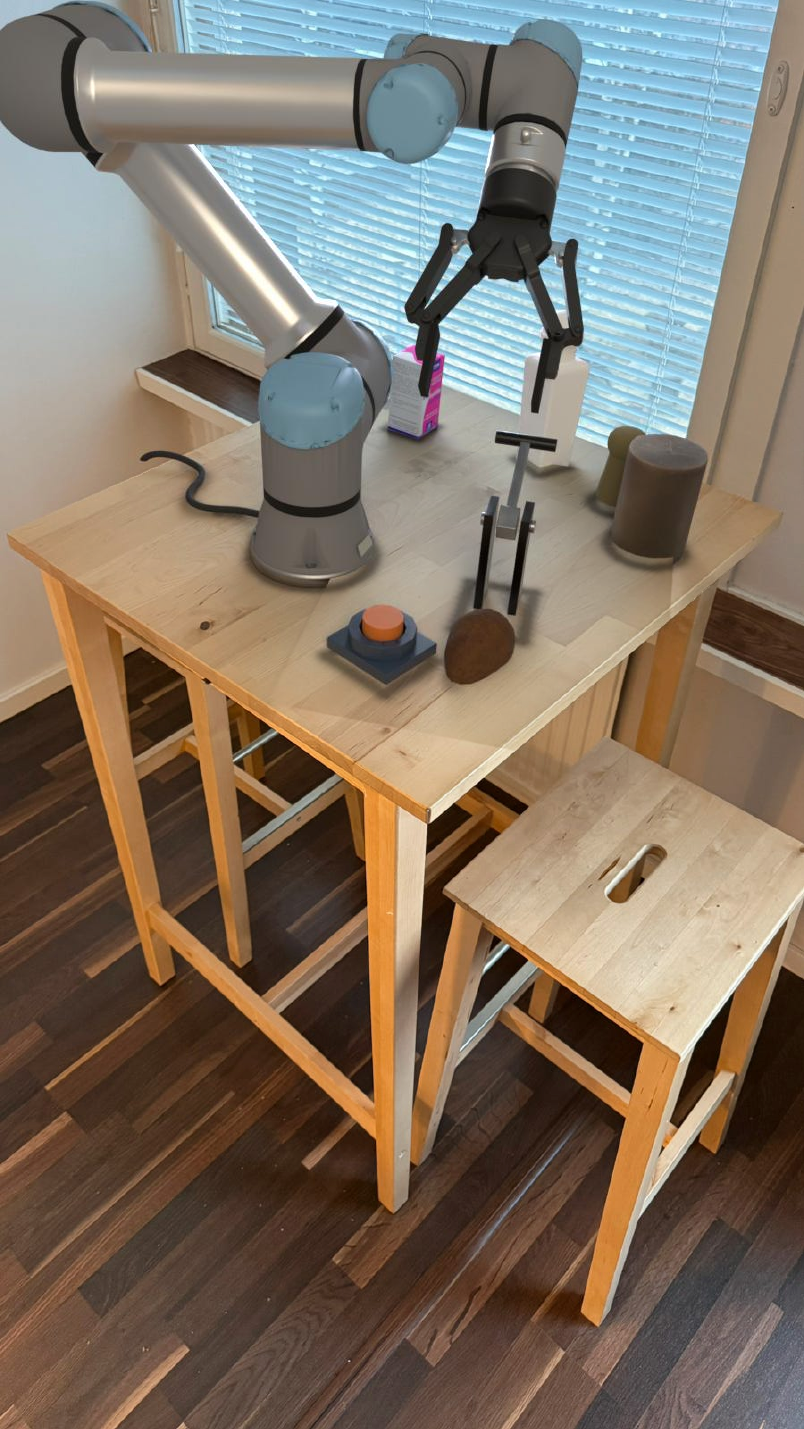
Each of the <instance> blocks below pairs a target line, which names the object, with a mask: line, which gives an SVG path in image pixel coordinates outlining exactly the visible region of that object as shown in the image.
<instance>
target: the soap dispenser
mask: <svg viewBox="0 0 804 1429" xmlns="http://www.w3.org/2000/svg"><path fill="white" fill-rule="evenodd" d="M555 311H556V313H557V316H558V318H559V320H560V323H561V325H562V328H564V329H566V328H569V327H568V320H567V312H566V309H559V310H555ZM538 335H539V336H538V337H539V339H540V340H541V344H542V343H543V338H548V336H547V334H546V331H545V329H544V327H543V326H541V328H540V329H539V334H538ZM584 341H585V333H584V334H583V342H582V344H583V343H584ZM579 347H580V346H573V345H571V346H567V347H565V348H564V349H563V351H562V354H561V359H560V365H559V370H558V375H557V377H556V378H555V380H552V379H545V382H544V388H543V393H542V398H541V403H540V408H539V413H538V414H537V413H531V400H532V395H533V390H534V384H535V379H536V374H537V369H538V364H539V359H540V354H541V351H540V352H536V353H535V352H534V353H531V354H528V355H527V356H526V357H525V359H524V367H523V379H522V388H521V400H520V411H519V412H520V414H519V424H518V432H517V433H518V434H525V435H532V436H538V437H545V438H552V439H557V447H556V451H555V452H550V451H543V450H537V449H529V454H528V458H527V462H531V463H532V464H534V465H535V466H536V467H538V468H544V467H548V466H552V465H554V466H562V467H569V465H570V462H571V458H572V457H571V456H572V452H573V447H574V443H575V439H576V434H577V429H578V425H579V421H580V416H581V411H582V407H583V404H584V403H583V402H584V398H585V394H586V390H587V386H588V380H589V375H590V372H591V366H590V364H589V363H588V362H587V361H585V360H583V359H582V358H580V357H579V356H578V355H577V354H576V353H577V351H578V349H579ZM576 355H577V356H576ZM518 451H519V447H517V446H516V459H515V460H517V456H518Z"/></svg>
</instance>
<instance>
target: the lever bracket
mask: <svg viewBox="0 0 804 1429" xmlns="http://www.w3.org/2000/svg"><path fill="white" fill-rule="evenodd" d="M499 503H500V496H497V495H490V496H489V499H488V502H487V505H486V508H485V511H482V512H481V516H480V521H479V524H480V526H482V531H481V539H480V540H481V541H480V546H479V547H480V548H479V556H478V565H477V572H476V582H475V590H474V598H473V607H472V608H473V609H474V610H476V609H483V606H484V603H485V600H486V597H487V593H488V590H489V582H490V575H491V567H492V559H493V550H494V543H495V537H496V525H497V520H498V513H499V505H500V504H499ZM535 507H536V502H535V501H529V500H526V501H525V504H524V508H523V511H522V515H521V517H520V522H519V531H518V536H517V544H516V552H515V557H514V565H513V572H512V579H511V585H510V591H509V599H508V606H507V613H506V614H507V615H509V616H513V617H516V616H517V613H518V608H519V605H520V600H521V596H522V590H523V583H524V578H525V573H526V572H525V571H526V565H527V559H528V552H529V544H530V539H531V534H534V533H535V531H536V525H537V521H536V519H535V520H533V519H534V513H535Z"/></svg>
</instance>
